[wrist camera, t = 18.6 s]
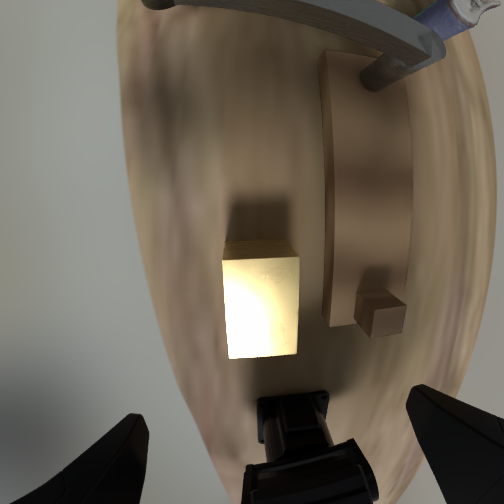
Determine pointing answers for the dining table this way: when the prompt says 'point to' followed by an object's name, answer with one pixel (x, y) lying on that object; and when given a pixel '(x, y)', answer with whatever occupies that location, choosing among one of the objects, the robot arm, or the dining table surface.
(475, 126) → the dining table surface
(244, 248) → the light wooden cube
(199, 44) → the dining table surface
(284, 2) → the lever
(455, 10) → the flask
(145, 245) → the dining table surface
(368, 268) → the plane body
